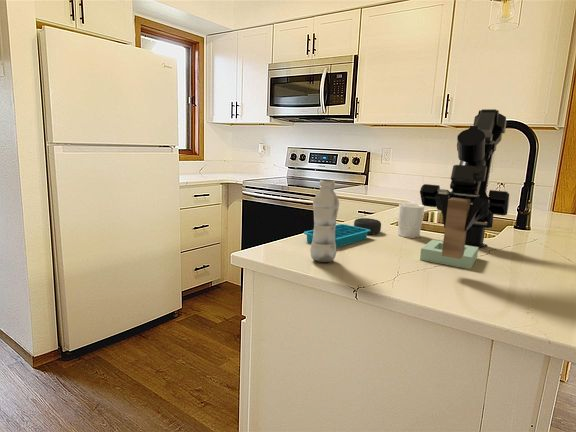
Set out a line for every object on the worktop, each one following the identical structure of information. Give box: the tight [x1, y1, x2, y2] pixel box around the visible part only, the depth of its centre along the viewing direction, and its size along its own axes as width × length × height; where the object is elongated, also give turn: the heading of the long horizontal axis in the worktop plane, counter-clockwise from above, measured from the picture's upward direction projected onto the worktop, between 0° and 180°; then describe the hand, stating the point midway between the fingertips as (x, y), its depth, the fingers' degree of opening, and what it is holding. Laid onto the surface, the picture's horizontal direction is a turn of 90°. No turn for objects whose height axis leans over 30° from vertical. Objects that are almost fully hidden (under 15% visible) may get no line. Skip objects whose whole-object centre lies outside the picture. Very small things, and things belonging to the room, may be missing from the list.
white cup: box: [397, 203, 425, 239], centre depth 128 cm, size 8×8×10 cm
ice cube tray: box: [303, 223, 370, 248], centre depth 119 cm, size 12×20×3 cm, turn 137°
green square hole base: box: [419, 239, 480, 270], centre depth 103 cm, size 12×12×3 cm
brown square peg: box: [442, 198, 471, 259], centre depth 89 cm, size 4×4×13 cm
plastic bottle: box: [309, 179, 340, 263], centre depth 95 cm, size 6×7×20 cm
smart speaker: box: [353, 217, 382, 235], centre depth 131 cm, size 9×9×4 cm
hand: (455, 228), depth 88 cm, fingers closed on brown square peg, 4 cm apart
